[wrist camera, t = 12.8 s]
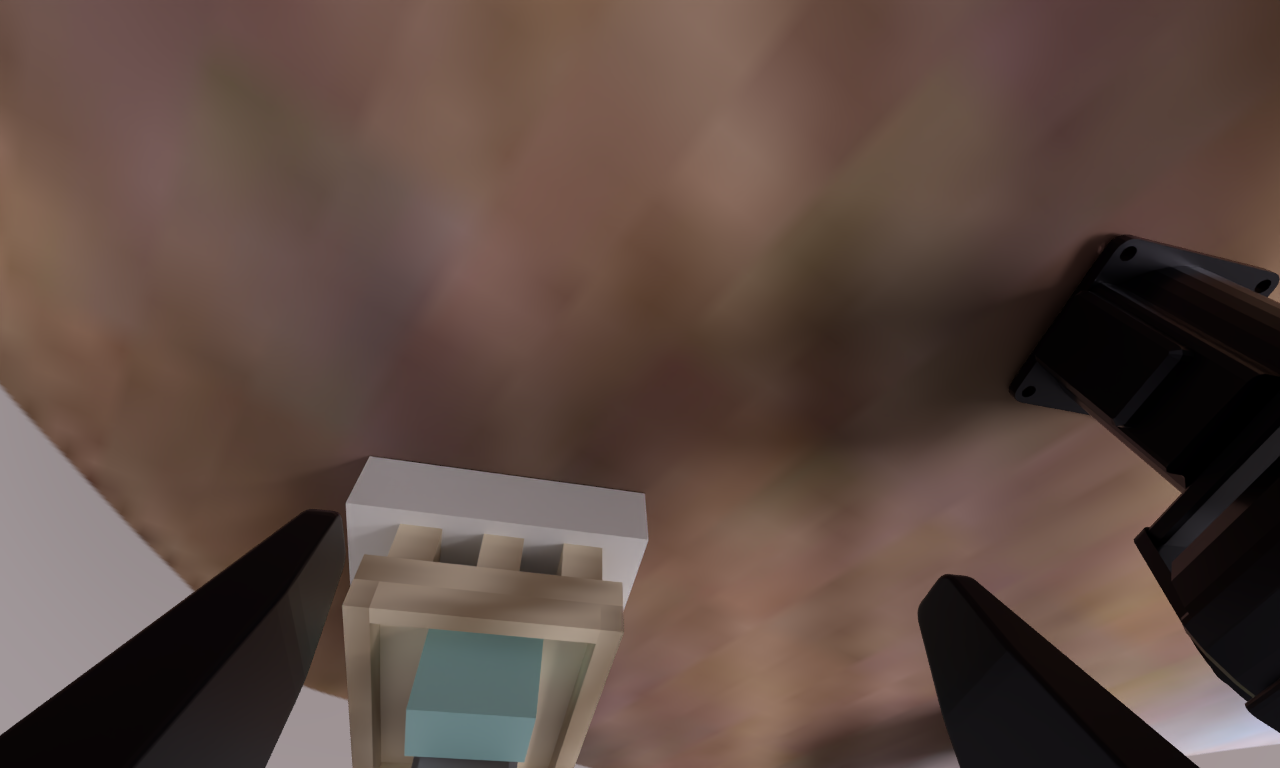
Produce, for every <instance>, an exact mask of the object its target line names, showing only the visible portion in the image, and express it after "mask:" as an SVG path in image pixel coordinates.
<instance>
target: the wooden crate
mask: <svg viewBox="0 0 1280 768" xmlns="http://www.w3.org/2000/svg"><path fill="white" fill-rule="evenodd" d="M441 542H442V529H440V528H432V527H424V526H415V525H407V524H400V525H399V528H398V530H397V533H396V536H395V538H394V541H393V543H392V546H391V548H390V551H389V554H388V556H387V557H386V556H377V555H367V554H364V556H363V558H362V560H361V563H360V565H359V567H358V570H357V572H356V574H355V577H354V579H353V581H352V584H351V586H350V588H349V591H348V593H347V595H346V597H345V600H344V602H343V604H342V611H343V627H344V642H345V658H346V673H347V689H348V704H349V719H350V735H351V750H352V765H353V768H411V767H412V763H413V759H414V756H404V753H405V727H406V708H407V705H408V701H409V697H410V694H411V690H412V687H413V683H414V679H415V676H416V672H417V669H418V665H419V662H420V658H421V654H422V651H423V647H424V644H425V640H426V636H427V633H428V629H440V630H451V631H462V632H473V633H484V634H495V635H506V636H517V637H528V638H539V639H544V640H543V650H542V661H541V671H540V682H539V692H538V703H537V714H536V720H535V724H534V728H533V731H532V735H531V739H530V743H529V746H528V750H527V754H526V757H525V761H524V762H518V764H517V768H574V766H575V763H576V761H577V758H578V755H579V752H580V750H581V747H582V744H583V742H584V739H585V736H586V733H587V731H588V728H589V725H590V723H591V720H592V717H593V715H594V712H595V709H596V706H597V704H598V701H599V698H600V696H601V693H602V690H603V687H604V685H605V682H606V679H607V677H608V674H609V671H610V668H611V666H612V663H613V660H614V658H615V655H616V652H617V650H618V647H619V644H620V641H621V639H622V636H623V633H624V619H623V587H622V582H613V581H604V580H602V548H599V547H591V546H582V545H574V544H566V543H564V545H563V549H562V553H561V557H560V561H559V565H558V569H557V573H556V575H549V574H540V573H531V572H522V571H520V564H521V558H522V551H523V544H524V538H515V537H507V536H499V535H490V534H484V536H483V540H482V544H481V549H480V553H479V558H478V562H477V567H476V566H467V565H458V564H449V563H440V555H441ZM418 768H509V762H508V761H490V760H472V759H453V758H435V757H420V760H419V764H418Z"/></svg>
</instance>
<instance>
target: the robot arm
mask: <svg viewBox="0 0 1280 768" xmlns="http://www.w3.org/2000/svg"><path fill="white" fill-rule="evenodd" d="M1125 248H1127V249H1126V251H1125V252H1124V253H1123V254H1122V255H1121V253H1122V251H1123V250H1124V249H1125ZM1278 283H1279V276H1278V275H1277V274H1276V273H1274V272H1271V271H1269V270H1266V269H1264V268H1260V267H1256V266H1252V265H1248V264H1244V263H1240V262H1236V261H1232V260H1228V259H1224V258H1220V257H1216V256H1212V255H1208V254H1204V253H1200V252H1196V251H1192V250H1188V249H1184V248H1180V247H1176V246H1172V245H1168V244H1164V243H1160V242H1156V241H1152V240H1148V239H1144V238H1140V237H1136V236H1132V235H1122V236H1119V237H1117V238H1115V239H1114V240H1112V241H1111V242H1110V243H1109V244H1108V245H1107V246H1106V248H1105V249H1104V251H1103V252H1102V253H1101V255H1100V256H1099V258H1098V259H1097V261H1096V262H1095V264H1094V265H1093V266H1092V268H1091V269H1090V271H1089V272H1088V274H1087V275H1086V276H1085V278H1084V279H1083V281H1082V282H1081V284H1080V285H1079V287H1078V288H1077V289H1076V291H1075V292H1074V294H1073V295H1072V297H1071V298H1070V299H1069V301H1068V302H1067V304H1066V305H1065V307H1064V308H1063V309H1062V311H1061V312H1060V314H1059V315H1058V317H1057V318H1056V320H1055V321H1054V322H1053V324H1052V325H1051V327H1050V328H1049V330H1048V331H1047V332H1046V334H1045V335H1044V337H1043V338H1042V340H1041V341H1040V343H1039V344H1038V345H1037V347H1036V348H1035V350H1034V351H1033V353H1032V354H1031V355H1030V357H1029V358H1028V360H1027V361H1026V363H1025V364H1024V366H1023V367H1022V368H1021V370H1020V371H1019V373H1018V374H1017V376H1016V377H1015V378H1014V380H1013V381H1012V383H1011V385H1010V387H1009V392H1010V394H1011V395H1012V396H1013V397H1014V398H1015V399H1016V400H1017V401H1019V402H1022V403H1027V404H1033V405H1038V406H1044V407H1049V408H1055V409H1060V410H1065V411H1071V412H1076V413H1082V414H1087V415H1091V416H1092V417H1093V418H1095V419H1096V420H1097V421H1098V422H1099V423H1100V424H1102V425H1103V426H1104V427H1105V428H1106V429H1107V430H1109V431H1110V432H1111V433H1112V434H1113V435H1114V436H1116V437H1117V438H1118V439H1119V440H1120V441H1121V442H1123V443H1124V444H1125V445H1126V446H1127V447H1128V448H1130V449H1131V450H1132V451H1133V452H1134V453H1135V454H1137V455H1138V456H1139V457H1140V458H1141V459H1143V460H1144V461H1145V462H1146V463H1147V464H1148V465H1150V466H1151V467H1152V468H1153V469H1154V470H1155V471H1157V472H1158V473H1159V474H1160V475H1161V476H1162V477H1164V478H1165V479H1166V480H1167V481H1168V482H1169V483H1171V484H1172V485H1173V486H1174V487H1175V488H1176V489H1178V490H1179V491H1180V492H1181V493H1182V494H1181V495H1180V496H1179V497H1178V498H1177V499H1176V500H1175V501H1174V502H1173V503H1172V504H1171V505H1170V506H1169V507H1168V509H1167V510H1166V511H1165V512H1164V513H1163V514H1162V515H1161V516H1160V517H1159V518H1158V519H1157V520H1156V521H1155V522H1154V523H1153V525H1152V526H1151V527H1145V528H1144V529H1143V530H1142V531H1141V532H1140V533H1139V534H1138V535H1137V537H1136V538H1135V539H1134V543H1135V544H1136V546H1137V548H1138V549H1139V551H1140V553H1141V554H1142V556H1143V558H1144V560H1145V561H1146V563H1147V565H1148V566H1149V568H1150V570H1151V571H1152V573H1153V575H1154V577H1155V578H1156V580H1157V582H1158V583H1159V585H1160V587H1161V588H1162V590H1163V592H1164V594H1165V595H1166V597H1167V599H1168V600H1169V602H1170V604H1171V605H1172V607H1173V609H1174V611H1175V612H1176V614H1177V616H1178V617H1179V619H1180V621H1181V622H1182V625H1183V627H1184V629H1185V631H1186V633H1187V634H1188V635H1189V637H1190V638H1191V639H1192V641H1193V643H1194V645H1195V646H1196V648H1197V649H1198V651H1199V652H1200V654H1201V655H1202V656H1203V658H1204V659H1205V661H1206V662H1207V663H1208V665H1209V666H1210V667H1211V668H1212V670H1213V672H1214V673H1215V674H1216V675H1217V677H1218V678H1220V679H1221V680H1222V681H1223V682H1225V683H1226V684H1228V685H1229V686H1230V687H1231V688H1232V689H1233V690H1234V691H1236V692H1237V693H1238V694H1239V695H1240V696H1241V697H1242V698H1244V699H1245V700H1246V701H1248V702H1246V703H1245V706H1246V708H1247V710H1248V711H1249V712H1250V713H1251V714H1252V715H1253V716H1255V717H1256V718H1257V719H1259V720H1260V721H1262V722H1264V723H1265V724H1267V725H1268V726H1270V727H1271V728H1273V729H1275V730H1276V731H1278V732H1279V733H1280V303H1279V302H1276V301H1274V300H1272V299H1270V298H1268V296H1269V295H1270V294H1271V293H1272V291H1273V290H1274V289H1275V288H1276V286H1277V285H1278ZM1026 387H1027V388H1026ZM1025 388H1026V389H1025ZM1024 389H1025V390H1024ZM345 555H346V550H345V541H344V532H343V523H342V517H341V515H340V514H339V513H338V512H335V511H327V510H317V509H309V510H306V511H304V512H302V513H300V514H299V515H298V516H296V517H295V518H294V519H292V520H291V521H290V522H288V523H287V524H285V525H284V526H283V527H281V528H280V529H279V530H277V531H276V532H275V533H273V534H272V535H271V536H269V537H268V538H267V539H265V540H264V541H263V542H261V543H260V544H258V545H257V546H256V547H254V548H253V549H252V550H250V551H249V552H248V553H246V554H245V555H244V556H242V557H241V558H240V559H238V560H237V561H235V562H234V563H233V564H231V565H230V566H229V567H227V568H226V569H225V570H223V571H222V572H221V573H219V574H218V575H217V576H215V577H214V578H212V579H211V580H210V581H208V582H207V583H206V584H204V585H203V586H202V587H200V588H199V589H198V590H196V591H195V592H194V593H192V594H191V595H189V596H188V597H187V598H185V599H184V600H183V601H181V602H180V603H179V604H177V605H176V606H175V607H173V608H172V609H171V610H169V611H168V612H167V613H165V614H164V615H163V616H161V617H160V618H158V619H157V620H156V621H154V622H153V623H152V624H150V625H149V626H148V627H146V628H145V629H144V630H142V631H141V632H139V633H138V634H137V635H135V636H134V637H133V638H132V639H130V640H129V641H127V642H126V643H125V644H123V645H122V646H121V647H119V648H118V649H116V650H115V651H114V652H113V653H111V654H110V655H108V656H107V657H106V658H104V659H103V660H102V661H100V662H99V663H98V664H96V665H95V666H94V667H92V668H91V669H89V670H88V671H87V672H86V673H84V674H83V675H81V676H80V677H79V678H77V679H76V680H75V681H73V682H72V683H71V684H69V685H68V686H66V687H65V688H64V689H63V690H61V691H60V692H58V693H57V694H56V695H54V696H53V697H52V698H50V699H49V700H48V701H46V702H45V703H43V704H42V705H41V706H39V707H38V708H37V709H36V710H34V711H33V712H31V713H30V714H29V715H27V716H26V717H25V718H23V719H22V720H20V721H19V722H18V723H16V724H15V725H14V726H12V727H11V728H10V729H8V730H7V731H6V732H4V733H3V734H2V735H1V736H0V768H265V767H266V765H267V762H268V760H269V758H270V756H271V753H272V751H273V749H274V747H275V745H276V743H277V741H278V739H279V736H280V734H281V732H282V730H283V728H284V726H285V724H286V721H287V719H288V717H289V715H290V713H291V711H292V708H293V706H294V704H295V702H296V700H297V698H298V695H299V693H300V691H301V688H302V686H303V684H304V681H305V679H306V676H307V673H308V671H309V668H310V665H311V662H312V659H313V656H314V653H315V650H316V648H317V645H318V642H319V639H320V636H321V633H322V630H323V627H324V624H325V621H326V618H327V615H328V612H329V609H330V606H331V603H332V600H333V597H334V594H335V591H336V588H337V585H338V582H339V579H340V576H341V573H342V570H343V567H344V563H345ZM918 622H919V626H920V630H921V634H922V638H923V642H924V646H925V650H926V654H927V658H928V662H929V665H930V669H931V673H932V677H933V681H934V685H935V689H936V693H937V697H938V701H939V705H940V708H941V712H942V715H943V719H944V722H945V725H946V728H947V731H948V734H949V737H950V740H951V743H952V746H953V749H954V751H955V754H956V757H957V760H958V763H959V766H960V768H1199V767H1198V766H1197V765H1196V764H1194V763H1193V762H1192V761H1191V760H1190V759H1189V758H1187V757H1186V756H1185V755H1184V754H1183V753H1181V752H1180V751H1179V750H1178V749H1177V748H1175V747H1174V746H1173V745H1172V744H1171V743H1169V742H1168V741H1167V740H1166V739H1165V738H1163V737H1162V736H1161V735H1160V734H1159V733H1157V732H1156V731H1155V730H1154V729H1153V728H1151V727H1150V726H1149V725H1148V724H1147V723H1145V722H1144V721H1143V720H1142V719H1141V718H1139V717H1138V716H1137V715H1136V714H1135V713H1133V712H1132V711H1131V710H1130V709H1129V708H1128V707H1126V706H1125V705H1124V704H1123V703H1122V702H1120V701H1119V700H1118V699H1117V698H1116V697H1114V696H1113V695H1112V694H1111V693H1110V692H1108V691H1107V690H1106V689H1105V688H1104V687H1102V686H1101V685H1100V684H1099V683H1098V682H1096V681H1095V680H1094V679H1093V678H1092V677H1090V676H1089V675H1088V674H1087V673H1086V672H1084V671H1083V670H1082V669H1081V668H1080V667H1078V666H1077V665H1076V664H1075V663H1074V662H1073V661H1071V660H1070V659H1069V658H1068V657H1067V656H1065V655H1064V654H1063V653H1062V652H1061V651H1059V650H1058V649H1057V648H1056V647H1055V646H1053V645H1052V644H1051V643H1050V642H1049V641H1047V640H1046V639H1045V638H1044V637H1043V636H1041V635H1040V634H1039V633H1038V632H1037V631H1035V630H1034V629H1033V628H1032V627H1031V626H1029V625H1028V624H1027V623H1026V622H1025V621H1023V620H1022V619H1021V618H1020V617H1019V616H1017V615H1016V614H1015V613H1014V612H1013V611H1012V610H1010V609H1009V608H1008V607H1007V606H1006V605H1004V604H1003V603H1002V602H1001V601H1000V600H998V599H997V598H996V597H995V596H994V595H992V594H991V593H990V592H989V591H988V590H986V589H985V588H984V587H983V586H982V585H980V584H979V583H978V582H977V581H976V580H974V579H973V578H971V577H968V576H962V575H953V574H945V575H943V576H941V577H940V578H939V579H938V580H937V582H936V583H935V584H934V586H933V587H932V588H931V590H930V591H929V592H928V594H927V595H926V596H925V598H924V599H923V600H922V602H921V603H920V605H919V608H918Z"/></svg>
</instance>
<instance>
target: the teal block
mask: <svg viewBox="0 0 1280 768" xmlns="http://www.w3.org/2000/svg"><path fill="white" fill-rule="evenodd" d="M543 640H544V639H539V638H528V637H517V636H506V635H495V634H484V633H473V632H462V631H451V630H440V629H428V633H427V636H426V640H425V644H424V647H423V651H422V654H421V658H420V662H419V665H418V669H417V672H416V676H415V679H414V683H413V687H412V690H411V694H410V697H409V701H408V705H407V708H406V727H405V753H404V756H417V757H435V758H453V759H472V760H490V761H508V762H524V761H525V757H526V754H527V750H528V746H529V743H530V739H531V735H532V731H533V728H534V724H535V720H536V714H537V703H538V692H539V682H540V671H541V661H542V650H543Z"/></svg>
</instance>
